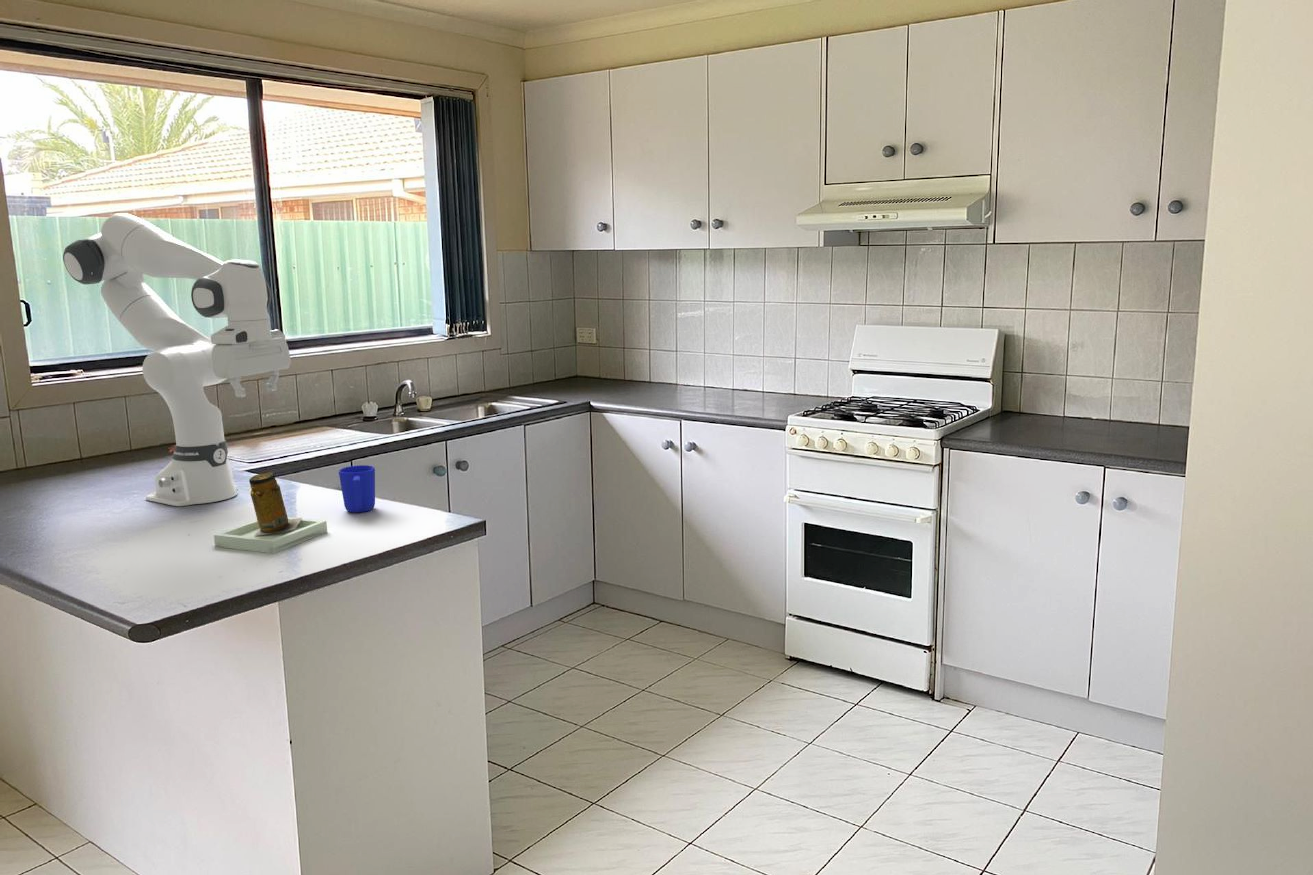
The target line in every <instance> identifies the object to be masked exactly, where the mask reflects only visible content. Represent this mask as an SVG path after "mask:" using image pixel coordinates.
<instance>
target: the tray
mask: <svg viewBox="0 0 1313 875" xmlns="http://www.w3.org/2000/svg"><path fill="white" fill-rule="evenodd" d="M287 517H288V519H297V518H298V517H291V516H290V517H289V516H287ZM259 529H260V527H259V525H258V521H257V519H255V520H253V521H252V520H251V521H249V522H247V523H243V524H240V525H238V526H236V527H232V528H230V529H227V530H224V531H221V532H218V533H215V534H213V538H214V541H213V542H214V547H219V548H226V549H236V550H244V551H252V552H261V553H268V554H276V553H278V552H281V551H283V550H285V549H288V548H290V547H293V546H295V545H298V544H301V543H303V542H305V541H308V540H310V539H313V538H316V537H318V536H321V535H323V534H325V533H328V526H327V520H320V519H309V518H302V519H301V521H300V522H299V524H298V525H297V526H296V528H295V529H294V530H288V531H284V532H276V533H272V534H264V535H257V536H254V535H255V534H256V533H257V532H258V530H259Z"/></svg>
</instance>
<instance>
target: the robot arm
mask: <svg viewBox="0 0 1313 875" xmlns="http://www.w3.org/2000/svg"><path fill="white" fill-rule="evenodd" d="M62 261H63V264H64V266H65V268H66V271H67V272H68V274H69V276H70V277H71V278H72V279H73V280H75V281H77V282H78V283H79V284H82V285H95V284H99V283H101V282H103V283H102V284H101V288H100V294H101V297H102V299H103V301H104V302H105V304H106V305H107V307H108V309H109V310H110V311H111V313H112V314H113V315H114V317H115V318H116V319H117V321H118V322H119V323H120V324H121V325H122V326H123V328H125V330H127V332H128V333H129V334H130V335H131V336H132V337H133V338H134V339H135V341H136V342H137V343H139V345H140V346H141V347H143V348H145V349H147V350H149V351H152V353H151V352H150V353H149V354H148V355H146V357H145V359H143V360H144V361H143V362H142V368H141V369H142V375H143V379H144V380H145V382H146V384H147V385H148V386H149V387H150V388H151V389H153V390H154V391H156V392H157V393H158V394H159V395H160V396H161V397H162V398H163V400H164V402H165V403H166V405H167V406H168V407H167V408H168V409H169V411H170V414H171V418H172V422H173V428H174V436H175V443H176V444H175V445H174V446H171V447H168V449H169V451H168V452H169V453H172V452H173V454H172V459H171V461H170V462H168V464H167V465H166V466H164V468H162V469H161V470H160V471H159V472H158V473H157V474H156V476H155V481H154V482H155V484H154V485H155V491H154V492H151V493H149V494H148V495H146V496H145V497H146V498H145V499H146V500H147V501H150V502H155V503H159V504H163V505H164V504H165V505H169V506H174V507H183V506H190V505H196V504H197V505H200V504H207V503H209V504H210V503H215V502H219V501H223V500H228V499H231V498H234V497H236V496H237V495H238V493H239V492H238V485H237V484H235V480H234V476H233V472H232V471H233V470H232V467H231V463H230V460H229V459H228V454H229V452H228V451H229V450H228V446H229V445H228V443H227V440H226V439H225V434H224V425H223V423H224V422H223V416H222V411H221V409H220V408H219V407H218V406H217V405H215V404H213V403H211V402H210V401H209V399H208V397H207V395H206V393H205V391H204V388H205V387H209V386H213V385H217V384H220V383H223V382H224V381H226V380H229V381H228V382H229V384H230V385H231V387H232V388H233V390H234V396H235V397H237V398H243V397H246V396H247V393H246V391H247V390H246V388H244V387H243V386H242V384H241V382H242V377H247V376H252V375H259V374H262V373H267V375H268V376H269V377H268V382H266V383H265V388H266V391H267V392H275V391H277V389H278V387H277V386H278V385H277V382H278V380H279V377H280V370H286V369H289V368H290V366H291V364H292V361H291V355H290V350H289V345H288V343H287V341H286V335H285V334H284V332H282V331H281V330H280V329H274V330H272V327H271V318H270V314H269V313H268V308H269V306H270V304H271V302H272V290H271V287H270V285H269V283H268V282H267V280H266V278H265V274H264V271H263V268H262V266H261V265H260V264H259V263H257V262H256V261H254V260H248V259H242V258H241V259H240V258H239V259H238V258H237V259H236V258H235V259H229V260H228V259H227V260H226V261H223V260H220V259H219V258H216V257H215V256H213V255H212V254H209V253H206V252H204V251H202V250H199V248H195V247H194V246H192V245H190V244H188V243H185V242H183V241H182V240H179V239H177V238H176V237H173V236H172V235H171V234H169V233H167V232H165V231H163V230H162V229H161V228H159V227H156V226H155V225H154V224H152V223H150V222H149V221H146V220H145V219H142V218H140V217H137V216H135V215H132V214H130V213H125V212H119V213H114V214H113V215H110V216H109V217H107V219H106V220H104V222H103V224H102V225H101V230H100V232H98V233H96V234H92V235H90V236H87V237H85V238H83V239H78V240H77V239H76V240H75V241H74V242H72V243H69V245H67V246H66V247H65V249H64V250H63V255H62ZM144 275H146V276H149V277H152V278H158V279H159V278H160V279H189V280H190V279H191V280H195V281H194V283H193V285H192V287H191V291H190V294H191V296H190V297H191V303H192V305H193V307H194V309H195V310H196V312H197V313H198V314H199V315H201V316H202V317H204V318H209V319H221V318H223V319H224V318H227V325H226V326H224V327H223V328H220V329H219V330H217V331H216V332H214V333H212V334H211V335H210V336H207V335H205V334H203V333H202V332H201V331H198V330H197V329H196V328H194V327H192V326H191V325H190V324H188V323H187V322H186V321H184V320H183V319H181V317H179V316H178V315H177V314H176V313H175V312H174V311H173V309H171V307H170V306H169V305H167V304H166V302H164V300H163V299H162V298H161V297H160V296H159V295H158V294H157V293H156V292H155V291H154V290H153V289H152V288H151V286H149V285H148V283H147V282H146V281H145V280H146V279H145V278H144Z"/></svg>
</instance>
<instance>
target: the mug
mask: <svg viewBox="0 0 1313 875" xmlns="http://www.w3.org/2000/svg"><path fill="white" fill-rule="evenodd" d="M338 478H339V482H340V486H341V487H340V488H341V494H342V499H343V500H342V501H343V505H344V508H345V510H346V511H347V512H349V513H352V514H353V513H365V512H369V511H371V510H373V509H374V508H375V505H376V468H375V466H373V465H368V464H367V465H363V464H361V465H360V464H359V465H351V466H345V467H342V468H340V469H339V470H338Z"/></svg>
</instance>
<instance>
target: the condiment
mask: <svg viewBox="0 0 1313 875" xmlns="http://www.w3.org/2000/svg"><path fill="white" fill-rule="evenodd" d="M249 485H250V489H251V490H250V497H251V501H252V505H253V508H254V512H255V517H256V520H257V521H258V525H259V527H260V529H259V530H258V532H257V533H256V534H255V535H254V536H257V535H264V534H272V533H276V532H284V531H288V530H294V529H295V528H296V526H297V525H298V524H299V522H300V521H301V519H303V517H296V518H297V519H288V517H289V516H288V514H287V510H286V507H285V502H284V498H283V494H282V490H281V487H280V484H278V481H277V479H276V475H275V473H273V472H263V473H259V474H256V475H253V476H251V477H250V478H249Z"/></svg>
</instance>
